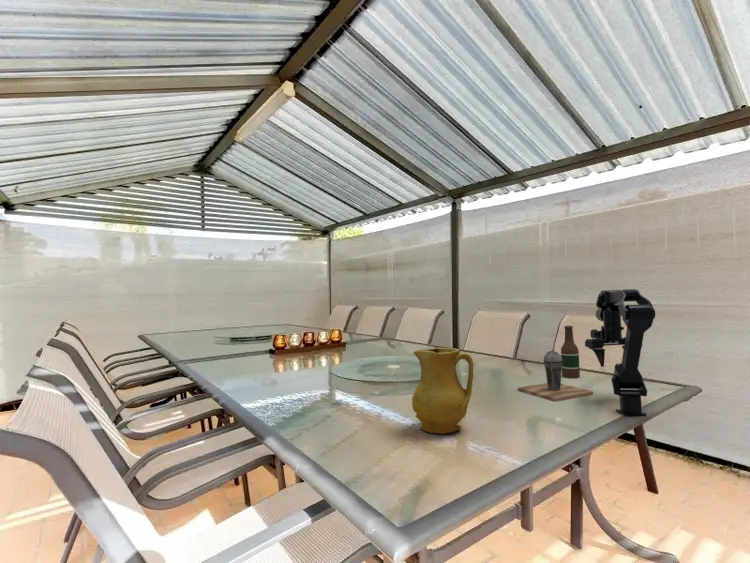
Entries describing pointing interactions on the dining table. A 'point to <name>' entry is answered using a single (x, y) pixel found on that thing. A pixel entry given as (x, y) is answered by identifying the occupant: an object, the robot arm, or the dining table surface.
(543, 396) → the walnut board
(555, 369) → the beverage cup
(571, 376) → the beer bottle
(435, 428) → the pitcher
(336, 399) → the dining table surface
